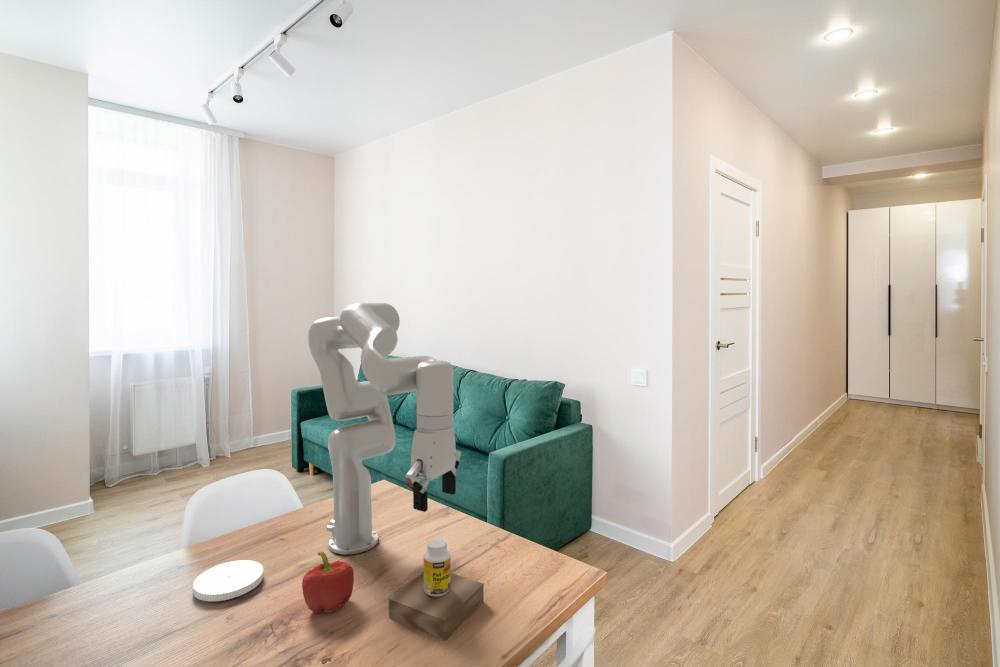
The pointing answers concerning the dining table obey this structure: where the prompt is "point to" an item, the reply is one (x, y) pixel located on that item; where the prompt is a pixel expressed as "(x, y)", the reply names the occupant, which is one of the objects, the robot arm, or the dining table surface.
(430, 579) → the supplement bottle
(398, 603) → the walnut base
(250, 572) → the plastic lid
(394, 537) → the dining table surface
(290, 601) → the dining table surface
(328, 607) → the vegetable
